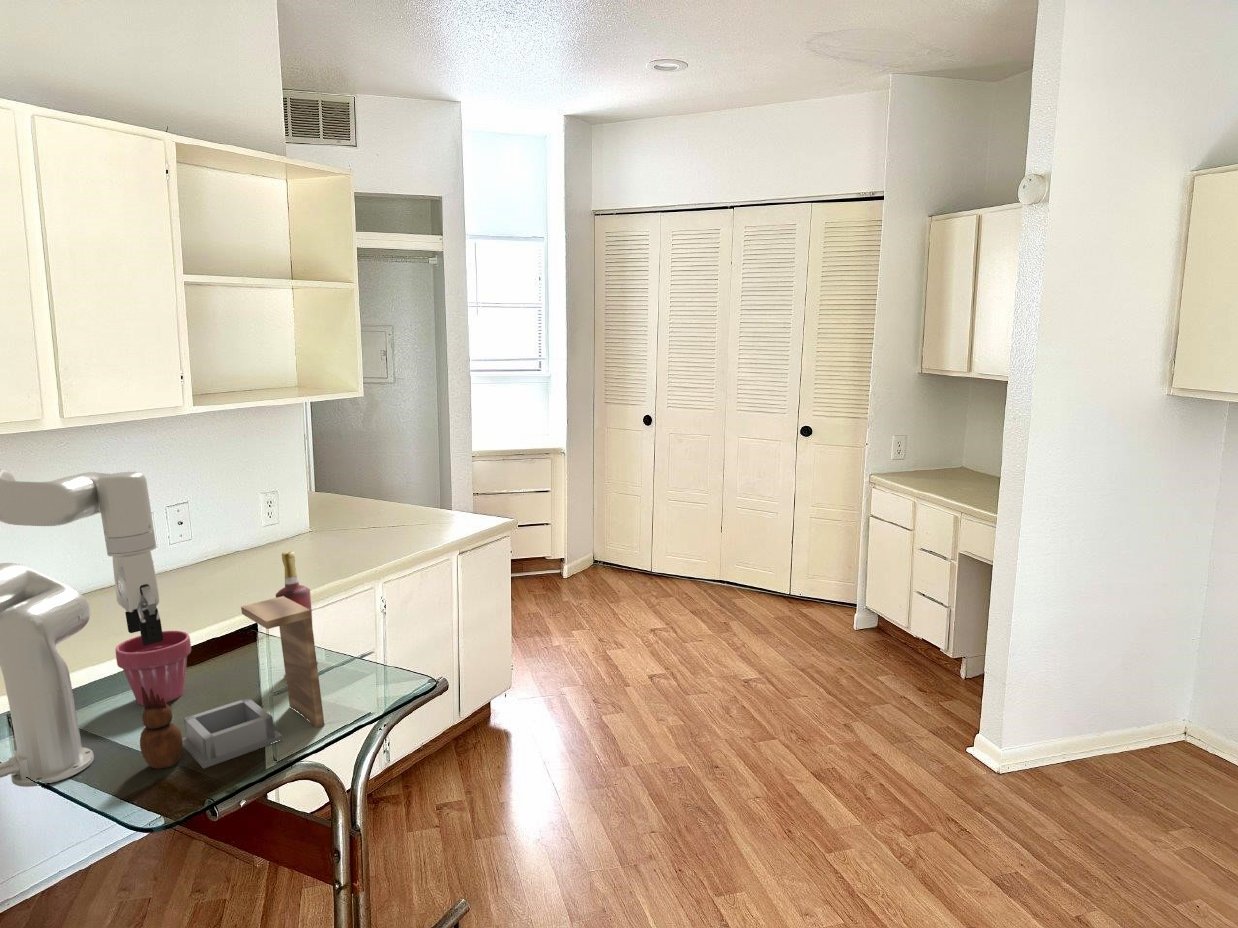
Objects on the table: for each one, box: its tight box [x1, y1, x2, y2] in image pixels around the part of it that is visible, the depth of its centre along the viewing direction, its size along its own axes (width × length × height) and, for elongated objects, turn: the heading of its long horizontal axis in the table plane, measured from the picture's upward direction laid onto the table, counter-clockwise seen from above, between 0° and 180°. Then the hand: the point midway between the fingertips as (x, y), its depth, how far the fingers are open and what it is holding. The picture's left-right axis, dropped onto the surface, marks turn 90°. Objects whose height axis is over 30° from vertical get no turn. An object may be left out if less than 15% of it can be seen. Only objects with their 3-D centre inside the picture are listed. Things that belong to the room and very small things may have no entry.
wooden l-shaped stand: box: [240, 596, 325, 729], centre depth 167 cm, size 8×14×24 cm, turn 42°
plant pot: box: [115, 630, 192, 706], centre depth 185 cm, size 14×14×13 cm
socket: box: [182, 697, 283, 769], centre depth 161 cm, size 14×14×5 cm
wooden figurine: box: [139, 687, 183, 769], centre depth 153 cm, size 7×6×15 cm
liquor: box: [275, 551, 319, 666], centre depth 193 cm, size 7×7×28 cm
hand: (145, 636), depth 151 cm, fingers open, 9 cm apart
